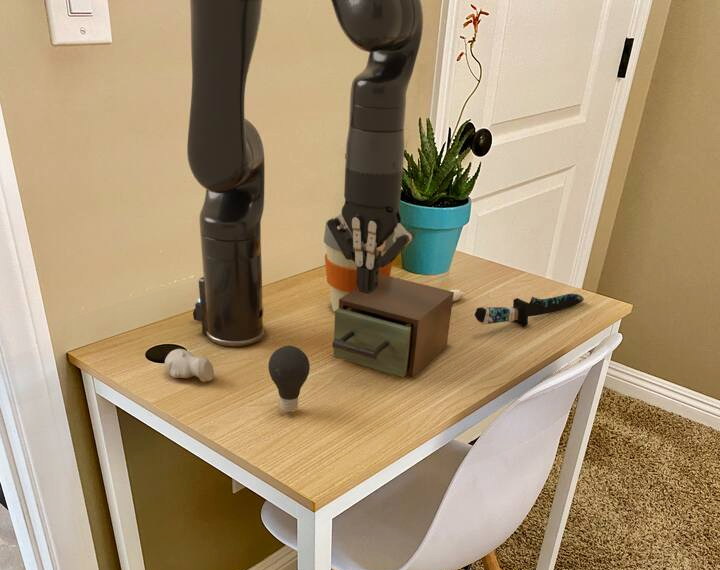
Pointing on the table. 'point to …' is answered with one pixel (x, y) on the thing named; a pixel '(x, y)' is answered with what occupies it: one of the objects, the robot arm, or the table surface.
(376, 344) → the drawer
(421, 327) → the cabinet
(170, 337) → the table surface
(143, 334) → the table surface
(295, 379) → the light bulb
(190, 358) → the pale two-lobed sculpture
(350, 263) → the reusable coffee cup
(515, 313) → the knife
